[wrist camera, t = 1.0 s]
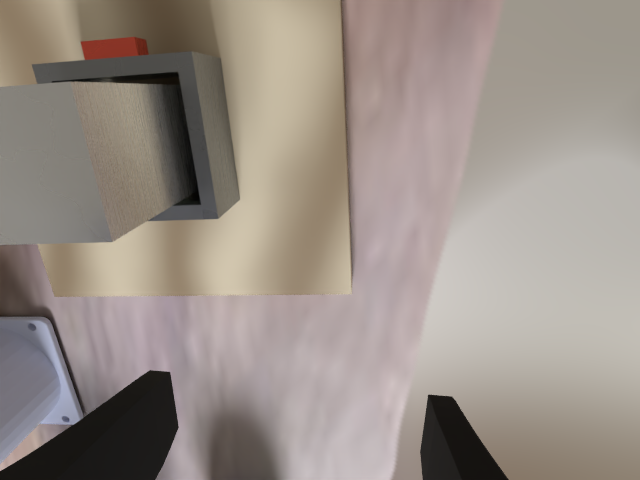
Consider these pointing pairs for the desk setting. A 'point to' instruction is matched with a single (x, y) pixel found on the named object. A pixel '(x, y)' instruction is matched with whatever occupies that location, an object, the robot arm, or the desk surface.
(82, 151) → the column
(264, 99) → the stand base
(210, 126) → the sleeve
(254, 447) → the desk surface
